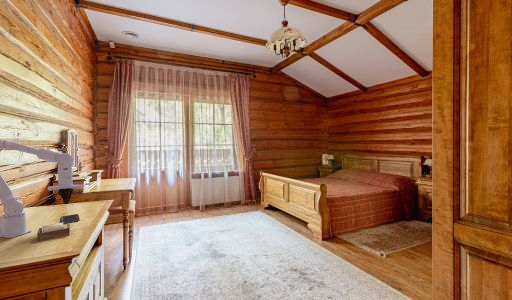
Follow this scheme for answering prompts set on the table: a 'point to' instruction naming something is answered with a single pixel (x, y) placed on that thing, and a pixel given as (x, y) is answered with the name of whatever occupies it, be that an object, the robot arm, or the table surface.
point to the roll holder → (53, 233)
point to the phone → (70, 219)
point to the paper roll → (52, 227)
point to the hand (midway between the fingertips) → (66, 203)
